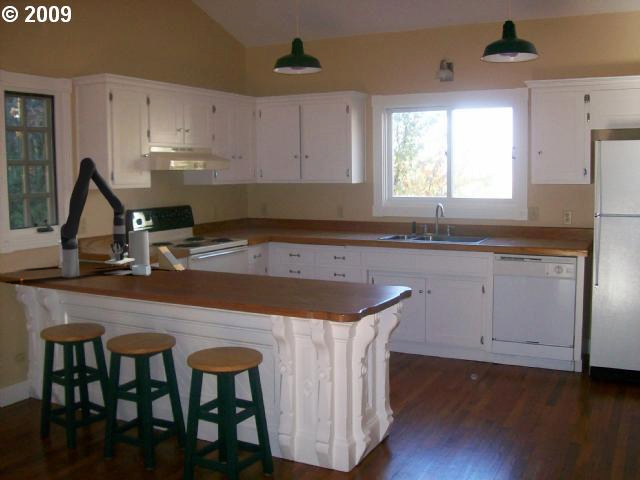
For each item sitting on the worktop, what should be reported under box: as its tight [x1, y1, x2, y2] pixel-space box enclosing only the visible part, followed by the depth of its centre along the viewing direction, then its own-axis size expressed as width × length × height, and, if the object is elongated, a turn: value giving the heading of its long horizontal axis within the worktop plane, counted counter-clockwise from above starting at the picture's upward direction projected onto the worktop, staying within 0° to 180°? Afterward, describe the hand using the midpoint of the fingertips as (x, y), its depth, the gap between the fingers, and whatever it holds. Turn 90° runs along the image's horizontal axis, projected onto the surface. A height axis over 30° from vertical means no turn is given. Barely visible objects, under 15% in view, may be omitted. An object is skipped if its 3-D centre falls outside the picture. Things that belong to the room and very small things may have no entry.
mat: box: [102, 269, 132, 276], centre depth 436 cm, size 16×16×1 cm
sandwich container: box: [157, 245, 185, 272], centre depth 449 cm, size 9×15×15 cm, turn 66°
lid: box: [104, 251, 135, 265], centre depth 434 cm, size 13×13×6 cm
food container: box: [108, 251, 129, 268], centre depth 462 cm, size 12×6×10 cm, turn 105°
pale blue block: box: [131, 264, 152, 277], centre depth 429 cm, size 11×11×6 cm
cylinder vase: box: [128, 230, 150, 270], centre depth 452 cm, size 12×12×25 cm
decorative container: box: [57, 239, 63, 269], centre depth 465 cm, size 12×12×18 cm
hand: (119, 259), depth 434 cm, fingers closed on lid, 3 cm apart
